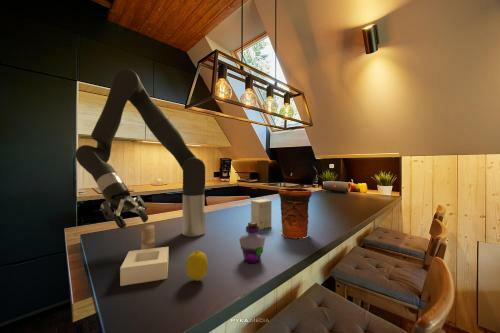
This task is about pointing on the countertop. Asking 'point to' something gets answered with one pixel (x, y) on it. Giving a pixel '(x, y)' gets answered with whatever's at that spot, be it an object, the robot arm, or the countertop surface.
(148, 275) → the socket
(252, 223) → the potion bottle
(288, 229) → the vessel
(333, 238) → the countertop surface
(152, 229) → the peg
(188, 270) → the lemon
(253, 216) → the small box
